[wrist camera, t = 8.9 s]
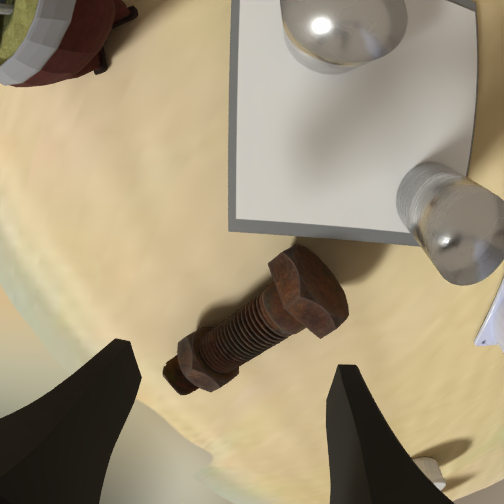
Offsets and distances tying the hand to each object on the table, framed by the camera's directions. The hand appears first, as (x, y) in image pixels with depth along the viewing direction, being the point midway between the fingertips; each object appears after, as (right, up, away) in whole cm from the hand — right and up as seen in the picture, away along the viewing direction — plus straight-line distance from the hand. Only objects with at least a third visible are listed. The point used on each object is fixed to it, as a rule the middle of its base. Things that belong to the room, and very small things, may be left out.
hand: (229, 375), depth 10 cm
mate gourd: (-9, +18, +4) cm, 21 cm away
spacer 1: (+4, +14, +1) cm, 15 cm away
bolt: (0, -1, +13) cm, 13 cm away
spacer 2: (+10, +7, +4) cm, 13 cm away
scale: (+6, +13, +4) cm, 15 cm away
